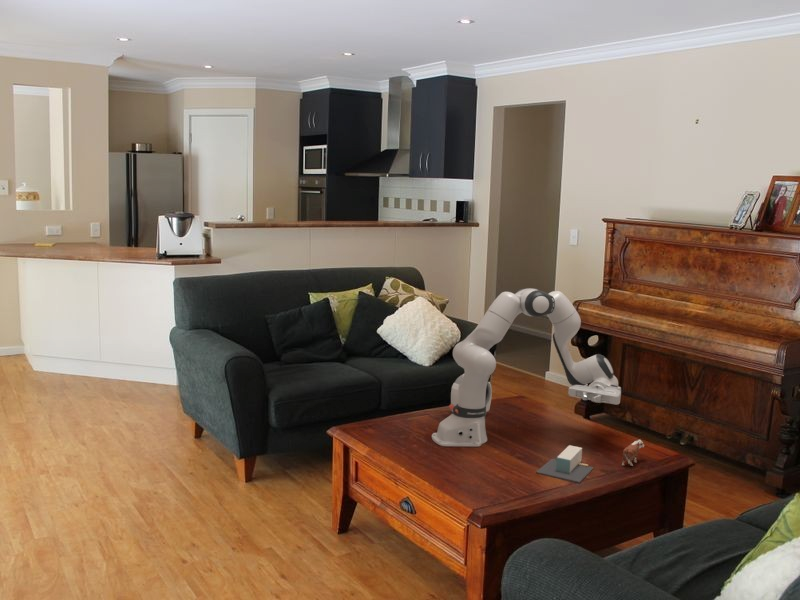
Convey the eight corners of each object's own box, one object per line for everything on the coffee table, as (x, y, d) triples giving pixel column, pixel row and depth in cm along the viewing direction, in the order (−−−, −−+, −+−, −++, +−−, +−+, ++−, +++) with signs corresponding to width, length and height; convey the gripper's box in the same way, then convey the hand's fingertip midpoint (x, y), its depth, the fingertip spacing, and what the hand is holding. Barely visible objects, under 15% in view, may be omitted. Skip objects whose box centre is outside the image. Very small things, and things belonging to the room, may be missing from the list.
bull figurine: (645, 460, 296) (646, 439, 295) (628, 468, 287) (630, 447, 285) (634, 457, 299) (636, 437, 298) (617, 465, 290) (619, 444, 288)
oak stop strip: (556, 461, 291) (556, 459, 291) (557, 460, 293) (557, 457, 293) (587, 468, 285) (587, 465, 285) (588, 467, 287) (588, 464, 287)
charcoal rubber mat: (536, 473, 279) (536, 471, 279) (552, 459, 293) (552, 458, 293) (579, 483, 271) (579, 481, 271) (593, 468, 285) (593, 467, 285)
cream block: (568, 457, 293) (555, 470, 281) (569, 445, 292) (556, 457, 280) (581, 460, 290) (569, 473, 278) (582, 447, 289) (569, 460, 277)
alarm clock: (458, 421, 336) (460, 376, 333) (448, 416, 343) (450, 371, 340) (492, 416, 345) (494, 372, 342) (481, 411, 352) (483, 368, 349)
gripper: (574, 379, 315) (563, 386, 304) (625, 387, 305) (615, 395, 293) (573, 394, 316) (562, 401, 305) (623, 403, 306) (614, 411, 294)
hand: (588, 398), depth 299 cm, fingers closed
